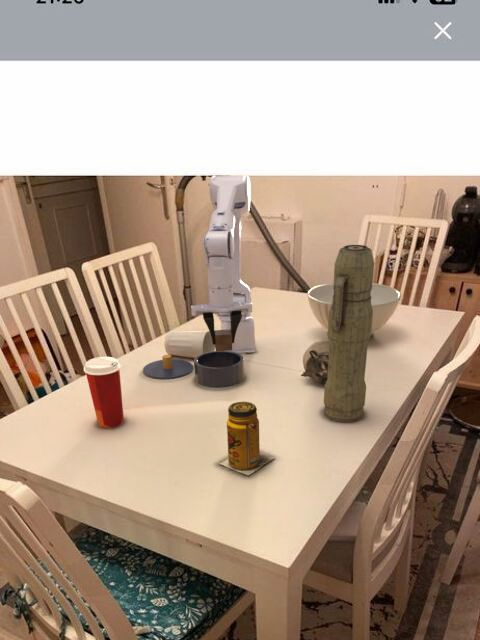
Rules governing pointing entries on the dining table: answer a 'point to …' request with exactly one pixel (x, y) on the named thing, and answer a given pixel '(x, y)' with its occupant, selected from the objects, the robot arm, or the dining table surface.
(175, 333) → the cup
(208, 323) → the robot arm
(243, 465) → the condiment
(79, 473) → the dining table surface
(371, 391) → the dining table surface
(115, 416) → the paper cup
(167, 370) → the lid
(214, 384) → the tin
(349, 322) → the thermos
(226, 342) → the block
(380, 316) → the decorative bowl
